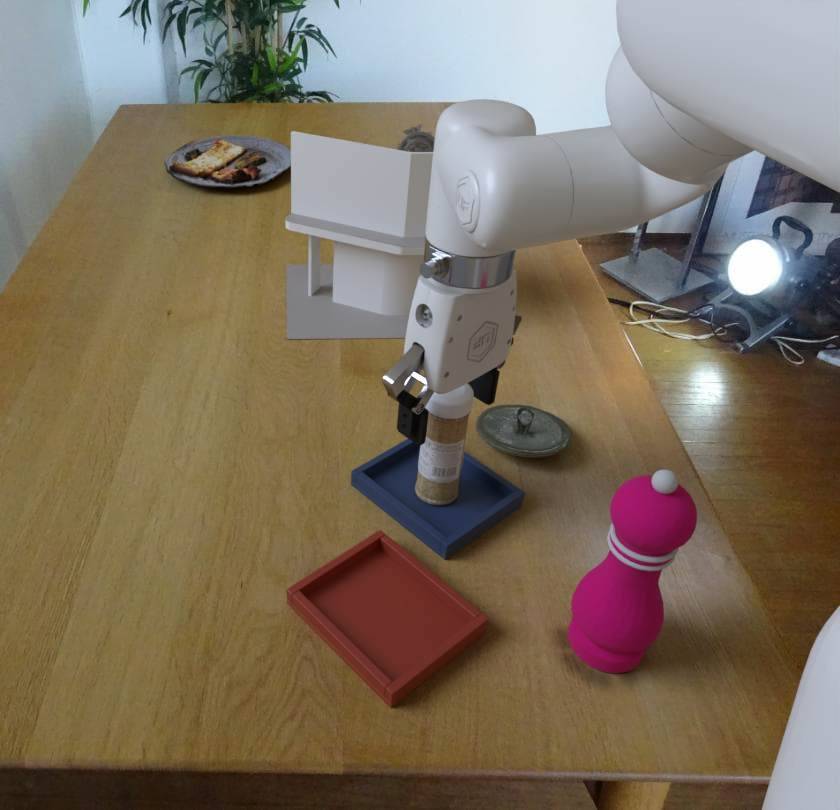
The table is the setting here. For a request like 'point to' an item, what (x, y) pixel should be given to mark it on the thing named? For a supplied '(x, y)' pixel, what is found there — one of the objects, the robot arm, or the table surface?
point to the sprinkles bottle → (444, 446)
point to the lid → (523, 430)
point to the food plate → (229, 161)
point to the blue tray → (437, 524)
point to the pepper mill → (631, 573)
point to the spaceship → (417, 140)
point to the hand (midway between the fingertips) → (446, 417)
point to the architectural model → (355, 237)
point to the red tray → (386, 615)
